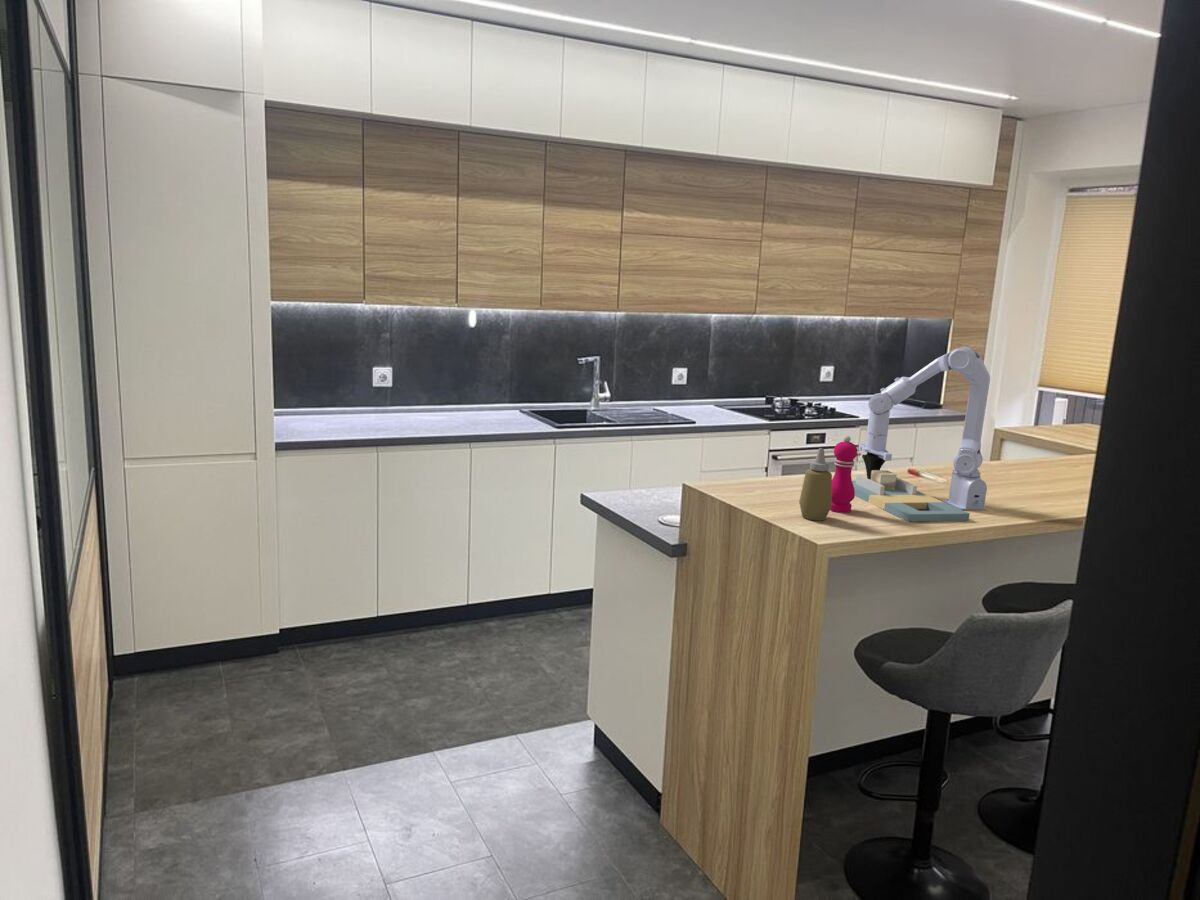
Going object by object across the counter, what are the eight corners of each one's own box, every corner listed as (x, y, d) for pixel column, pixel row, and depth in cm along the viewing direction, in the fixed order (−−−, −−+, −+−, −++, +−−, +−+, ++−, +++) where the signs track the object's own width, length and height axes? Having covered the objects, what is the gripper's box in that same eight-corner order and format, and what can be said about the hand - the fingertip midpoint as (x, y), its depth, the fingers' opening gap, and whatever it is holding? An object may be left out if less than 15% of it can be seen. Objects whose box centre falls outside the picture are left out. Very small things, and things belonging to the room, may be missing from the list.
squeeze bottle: (791, 516, 221) (798, 447, 218) (808, 511, 227) (816, 444, 223) (819, 524, 216) (827, 453, 212) (836, 519, 221) (844, 450, 218)
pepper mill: (833, 513, 226) (842, 438, 222) (819, 506, 233) (828, 433, 229) (858, 513, 228) (867, 438, 224) (843, 505, 235) (852, 433, 231)
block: (894, 489, 248) (896, 474, 247) (879, 489, 247) (881, 474, 246) (885, 485, 253) (886, 470, 252) (869, 485, 252) (871, 470, 251)
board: (968, 520, 227) (971, 504, 226) (907, 521, 223) (910, 505, 222) (893, 487, 260) (895, 472, 259) (839, 487, 256) (841, 472, 255)
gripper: (851, 429, 259) (846, 473, 261) (878, 438, 245) (872, 485, 248) (873, 429, 260) (867, 473, 263) (900, 438, 247) (894, 485, 249)
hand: (871, 479), depth 255 cm, fingers closed
